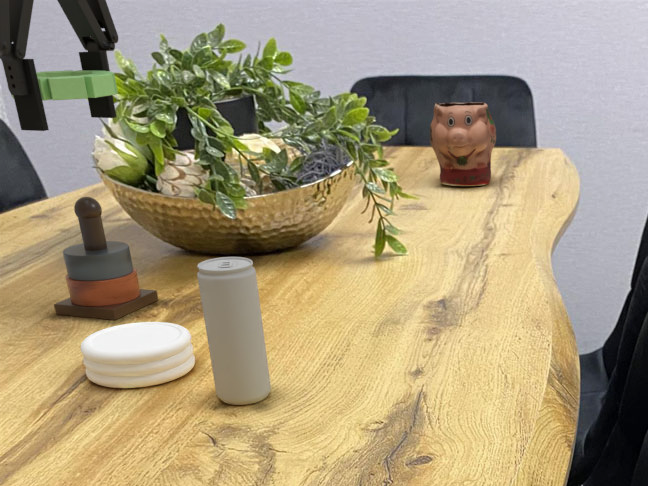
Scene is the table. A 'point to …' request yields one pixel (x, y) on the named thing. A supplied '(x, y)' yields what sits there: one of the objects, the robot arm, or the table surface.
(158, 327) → the coaster
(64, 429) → the table surface
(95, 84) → the green ring
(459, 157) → the decorative planter
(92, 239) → the stacking stand
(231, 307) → the beverage can
